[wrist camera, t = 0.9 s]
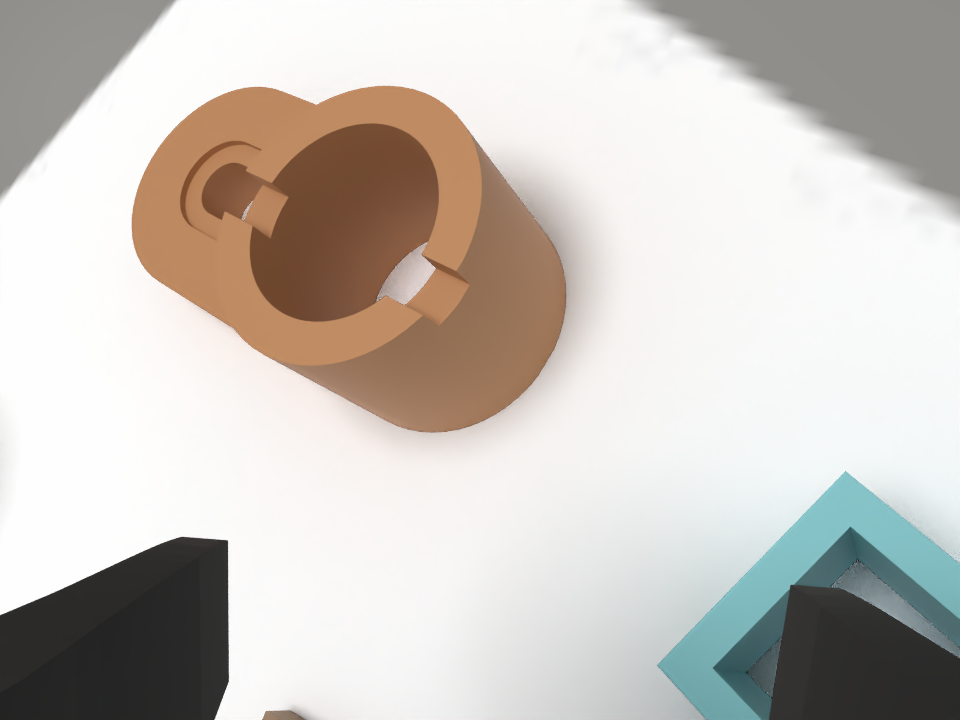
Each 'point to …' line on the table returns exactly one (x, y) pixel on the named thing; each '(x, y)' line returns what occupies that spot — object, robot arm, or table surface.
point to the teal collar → (809, 562)
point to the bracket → (356, 248)
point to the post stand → (281, 715)
